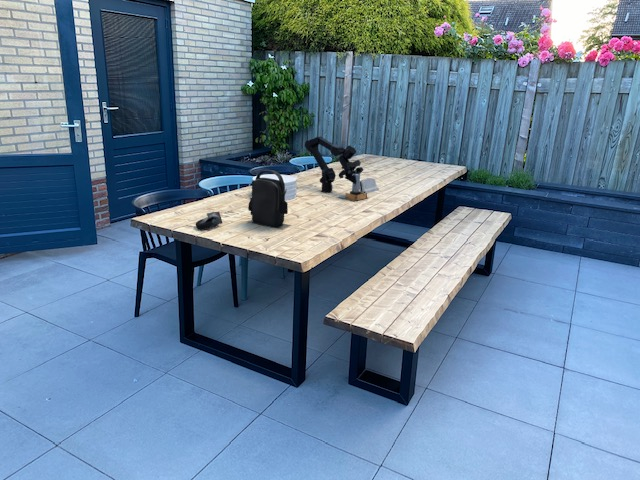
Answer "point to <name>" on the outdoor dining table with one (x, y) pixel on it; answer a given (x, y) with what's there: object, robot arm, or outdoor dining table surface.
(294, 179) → the plate stack
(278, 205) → the black backpack
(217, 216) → the caster wheel
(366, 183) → the hinge
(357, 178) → the grey piece
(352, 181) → the robot arm
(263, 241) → the outdoor dining table surface
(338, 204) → the outdoor dining table surface
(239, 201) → the outdoor dining table surface
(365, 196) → the keeper cradle
